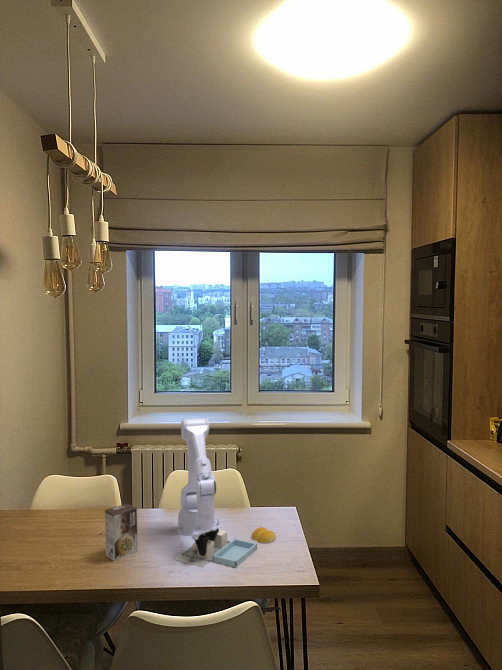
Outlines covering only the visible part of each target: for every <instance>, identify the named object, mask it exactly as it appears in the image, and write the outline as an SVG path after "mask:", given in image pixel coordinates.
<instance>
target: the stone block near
mask: <svg viewBox="0 0 502 670" xmlns="http://www.w3.org/2000/svg"><path fill="white" fill-rule="evenodd" d="M213 554H214V541H212V540H208V542H207V547H206V555H205V556H201V555H199V551H198V556H199V557H203V558H207V559H208V558H209V557H211V556H212V555H213Z"/></svg>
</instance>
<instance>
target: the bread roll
mask: <svg viewBox="0 0 502 670" xmlns="http://www.w3.org/2000/svg"><path fill="white" fill-rule="evenodd" d="M276 537H277V535H276V534H275V532H274V531H272V530H270V529H268V528H266V527H261V526H260V527H258V528H256V529H254V531H252V533H251V538H252V540H253V541H255V542H257V543H259V544H271V543H273V542H275V541H276Z"/></svg>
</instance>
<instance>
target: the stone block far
mask: <svg viewBox="0 0 502 670" xmlns="http://www.w3.org/2000/svg"><path fill="white" fill-rule="evenodd" d="M227 541H228V531H226V530H223V529H219V532H218V534H217V536H216V538H215V542H214V546H215V547H219V548H222V547H224V546H225V545H226V544H227Z"/></svg>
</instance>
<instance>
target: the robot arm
mask: <svg viewBox="0 0 502 670" xmlns="http://www.w3.org/2000/svg"><path fill="white" fill-rule="evenodd" d="M180 423H181V424H180V428H181V429H180V431H181V432H180V433H181V439H182V440H183V441H186V445H187V448H186V449H187V477H188V478H187V481H188V482H187V483H186V484H185V485H184V486H183V487H181V488H182V489H181V490H180V509H179V512H178V515H177V516H178V518H177V522H178V523H177V531H176V533H177V534H180V535H181V534H182V535H184V536H189V537H191V540H194V542H196V545H197V548H198V551H199V555H201V556H205V555H206V547H207V542H208V540H212V541H214V542H215V538H216V536H217V534H218V532H219V530H220V529H219V528H218V527H217V526H220V519H219V518H215V495H216V494H217V482H216V479H215V475H214V474H213V471H212V466H211V465H212V464H211V460H210V459H209V458H207V452H206V450H207V449H206V448H207V447H206V439H207V438H208V436H209V432H210V421H209V419H208V418H207V417H204V418H203V417H202V418H187V419H185V418H183V419H182V420H181V422H180Z"/></svg>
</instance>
